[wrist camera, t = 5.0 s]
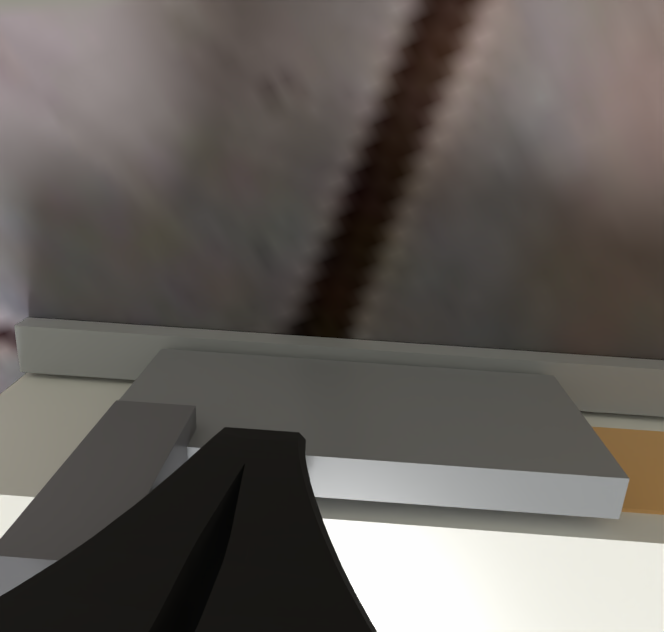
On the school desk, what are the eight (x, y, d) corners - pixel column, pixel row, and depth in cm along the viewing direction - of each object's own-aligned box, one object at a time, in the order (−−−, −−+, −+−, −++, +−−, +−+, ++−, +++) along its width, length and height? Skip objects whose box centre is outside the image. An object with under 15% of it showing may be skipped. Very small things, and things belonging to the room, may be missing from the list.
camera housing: (856, 373, 14) (1107, 505, 9) (744, 666, 17) (890, 877, 12) (27, 317, 15) (-132, 416, 10) (63, 613, 18) (-45, 797, 13)
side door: (556, 357, 13) (764, 614, 7) (547, 406, 14) (733, 697, 7) (160, 330, 14) (-40, 552, 7) (162, 380, 14) (-24, 637, 7)
